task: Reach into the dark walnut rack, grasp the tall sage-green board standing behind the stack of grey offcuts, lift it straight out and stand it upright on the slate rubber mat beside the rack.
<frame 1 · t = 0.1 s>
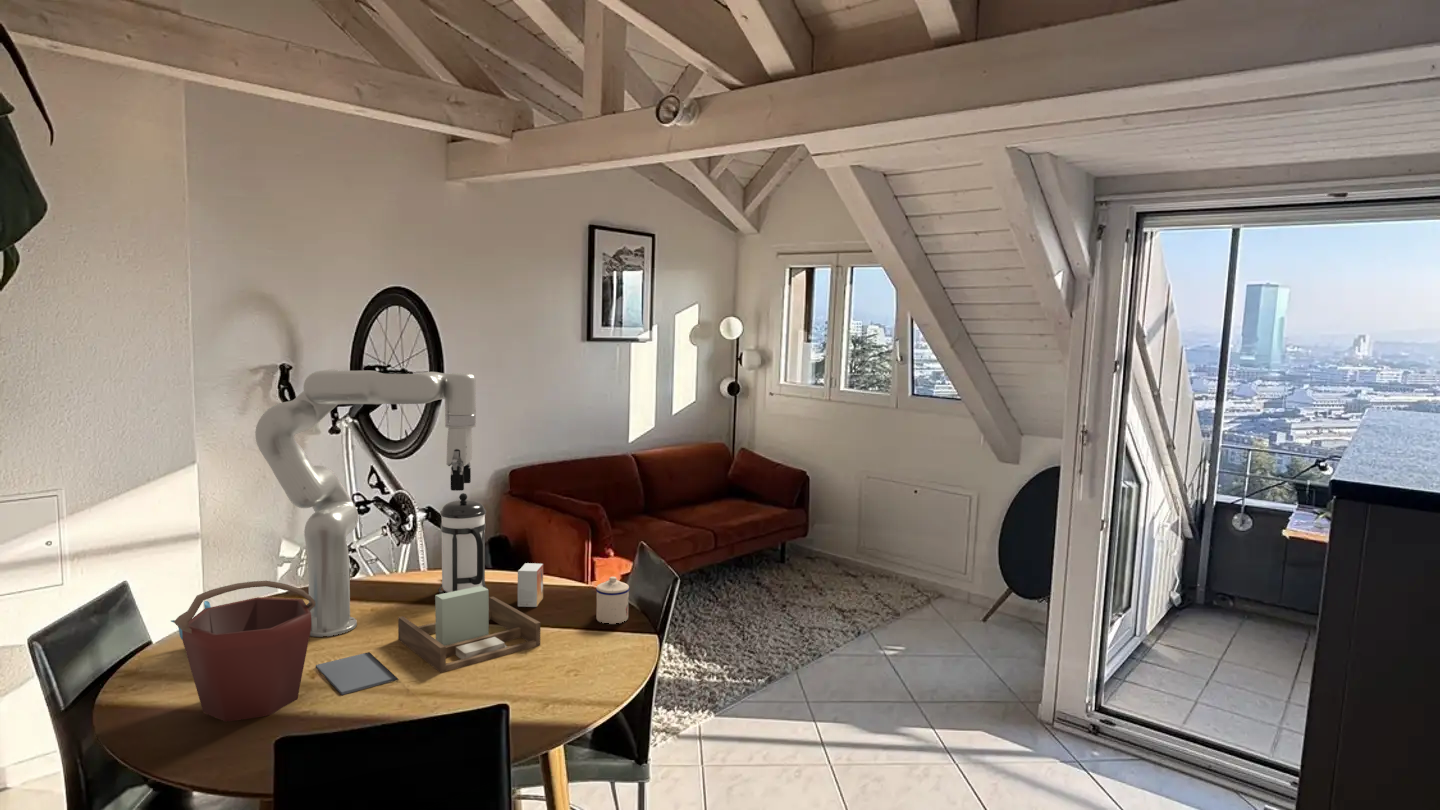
hand: (460, 486, 208), 37 cm above the table, tool pointing down, fingers open, 9 cm apart
rack: (469, 647, 197), on the table
offcut lower: (484, 660, 191), on the table, touching offcut upper
teapot: (216, 651, 192), on the table
mat: (370, 669, 183), on the table
coffee press: (466, 594, 236), on the table
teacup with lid: (610, 618, 220), on the table
small box: (530, 603, 231), on the table
sheet: (462, 643, 200), on the table
bucket: (251, 701, 167), on the table
offcut upper: (480, 653, 191), point 1 cm above the table, touching offcut lower
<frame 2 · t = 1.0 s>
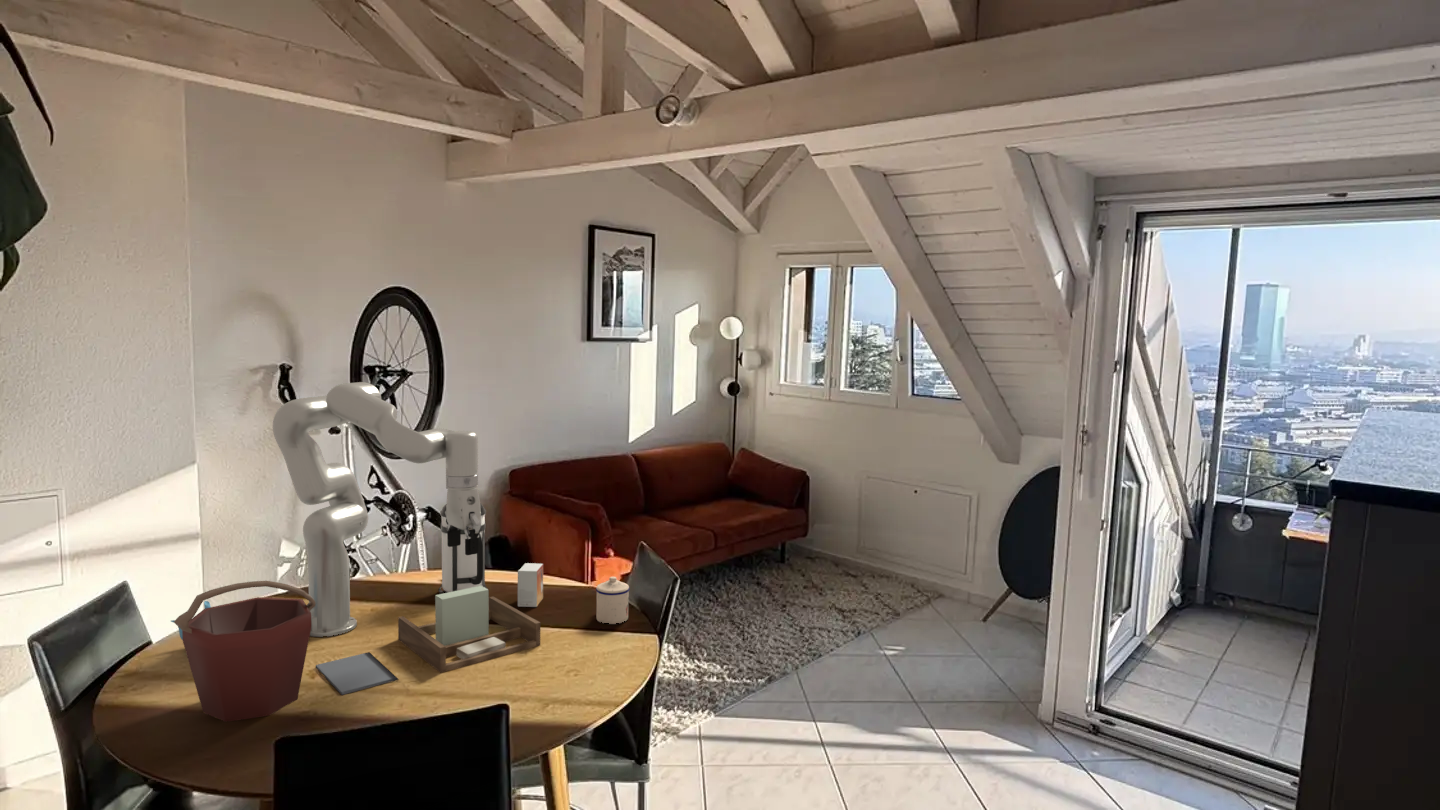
hand: (462, 549, 198), 24 cm above the table, tool pointing down, fingers open, 9 cm apart
nothing on the table moved.
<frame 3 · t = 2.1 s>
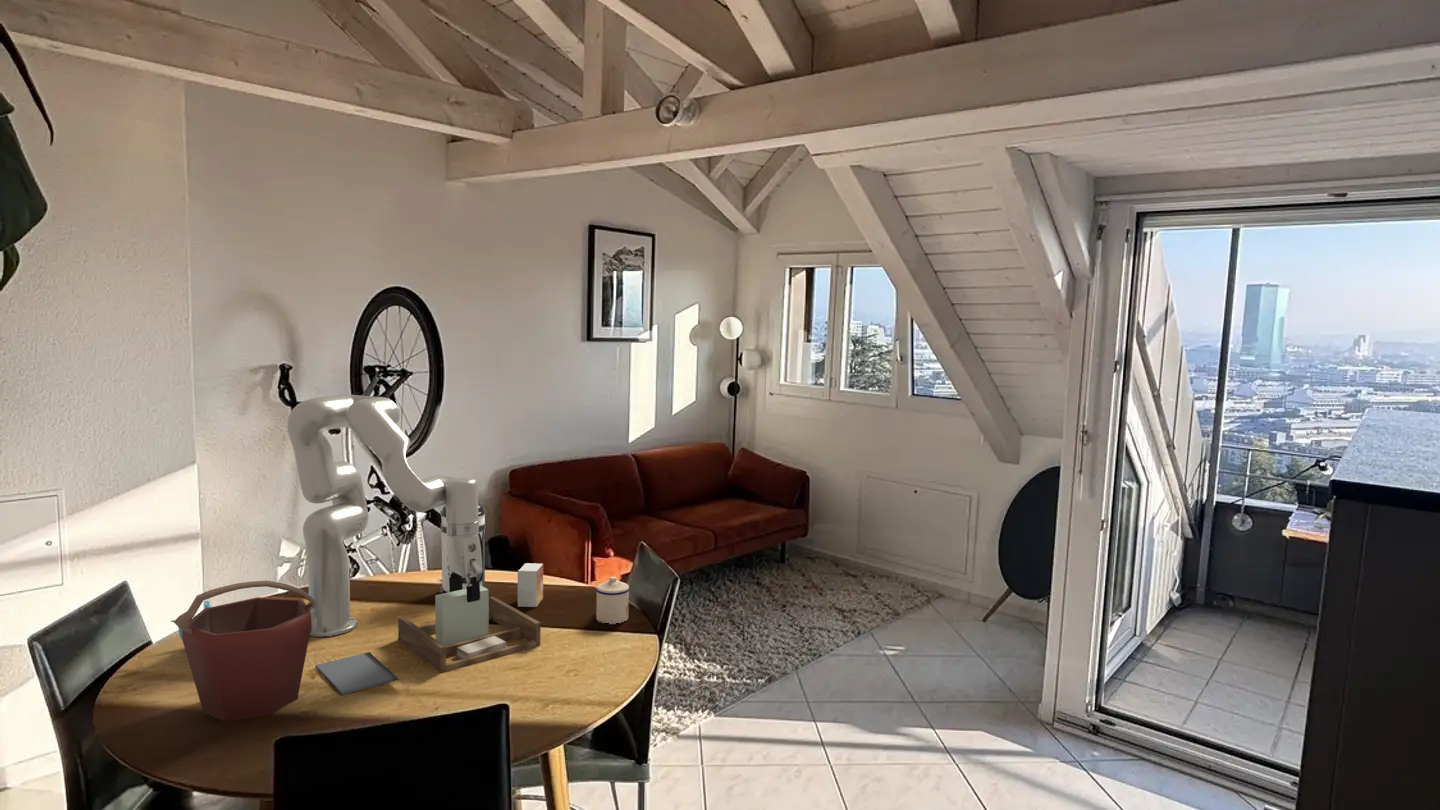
hand: (464, 596, 199), 12 cm above the table, tool pointing down, fingers open, 9 cm apart
nothing on the table moved.
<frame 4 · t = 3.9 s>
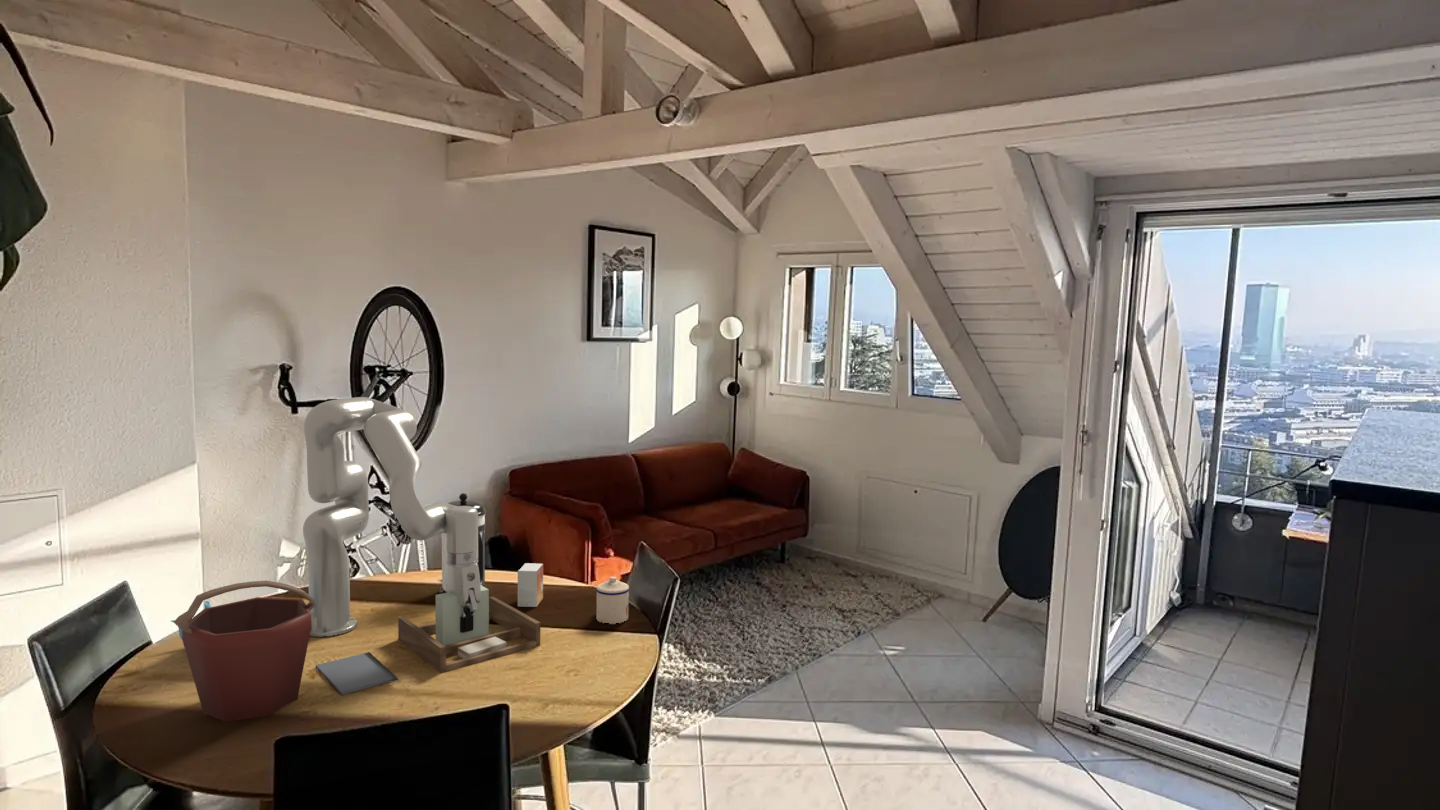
hand: (462, 627, 200), 4 cm above the table, tool pointing down, fingers closed on sheet, 4 cm apart
sheet: (462, 642, 200), on the table, touching gripper
everything else where it was.
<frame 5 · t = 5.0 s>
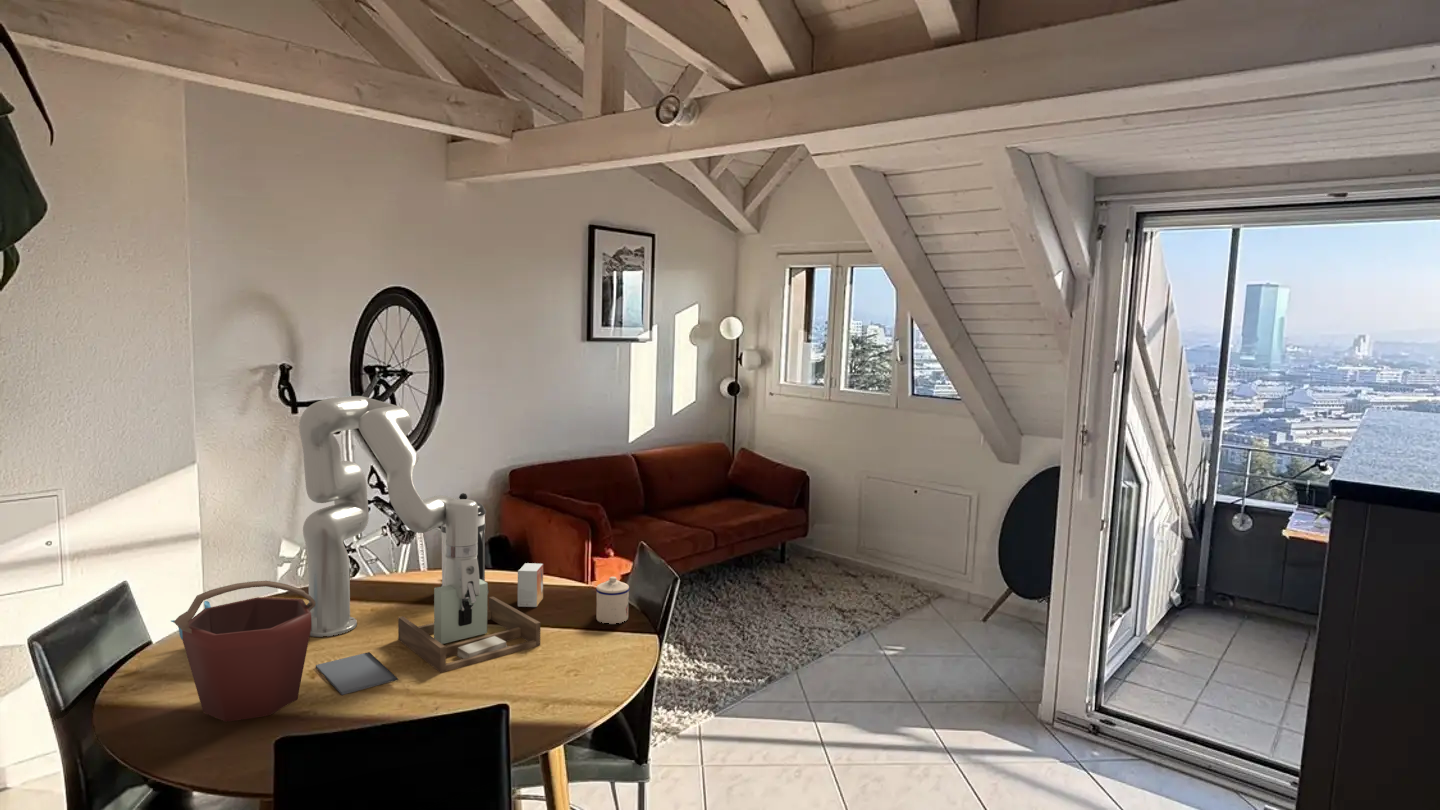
hand: (460, 621, 199), 6 cm above the table, tool pointing down, fingers closed on sheet, 4 cm apart
sheet: (460, 636, 200), point 2 cm above the table, touching gripper
everything else where it was.
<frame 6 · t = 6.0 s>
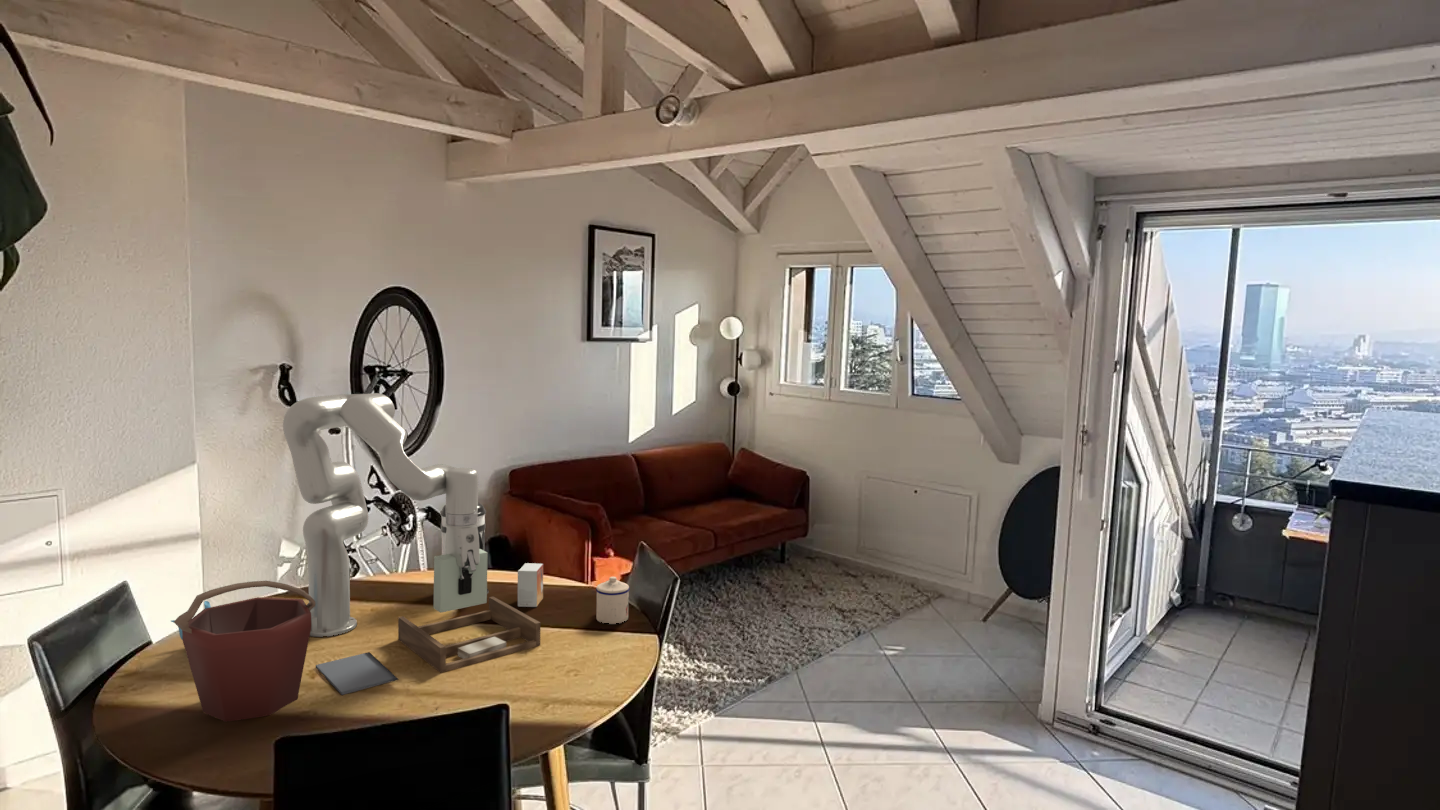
hand: (460, 590, 199), 13 cm above the table, tool pointing down, fingers closed on sheet, 4 cm apart
sheet: (460, 605, 199), point 10 cm above the table, touching gripper
everything else where it was.
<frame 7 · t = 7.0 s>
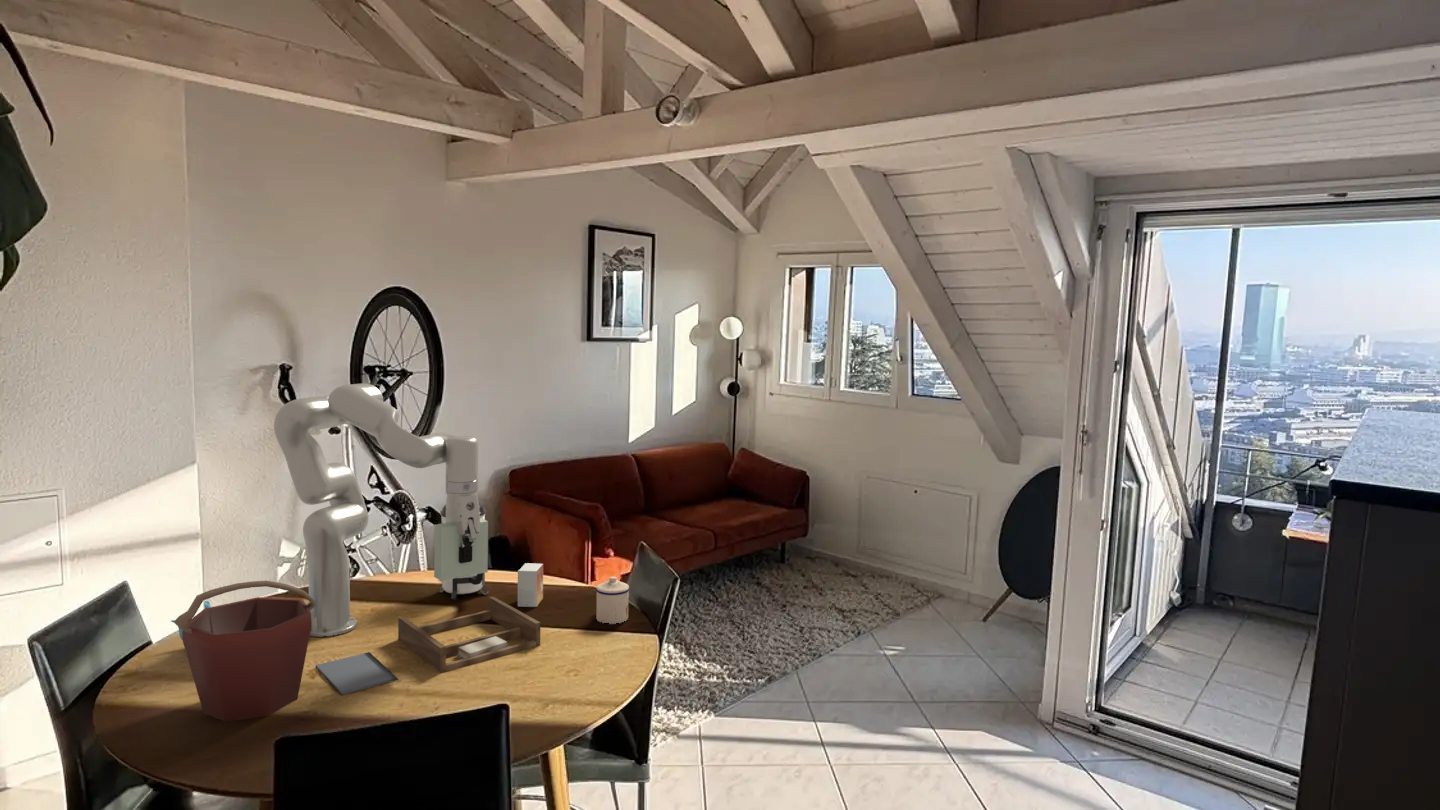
hand: (461, 559, 198), 21 cm above the table, tool pointing down, fingers closed on sheet, 4 cm apart
sheet: (461, 574, 198), point 17 cm above the table, touching gripper
everything else where it was.
when the fingers open (6 cm above the table, at t = 13.2 s): sheet drops 1 cm, resting on mat.
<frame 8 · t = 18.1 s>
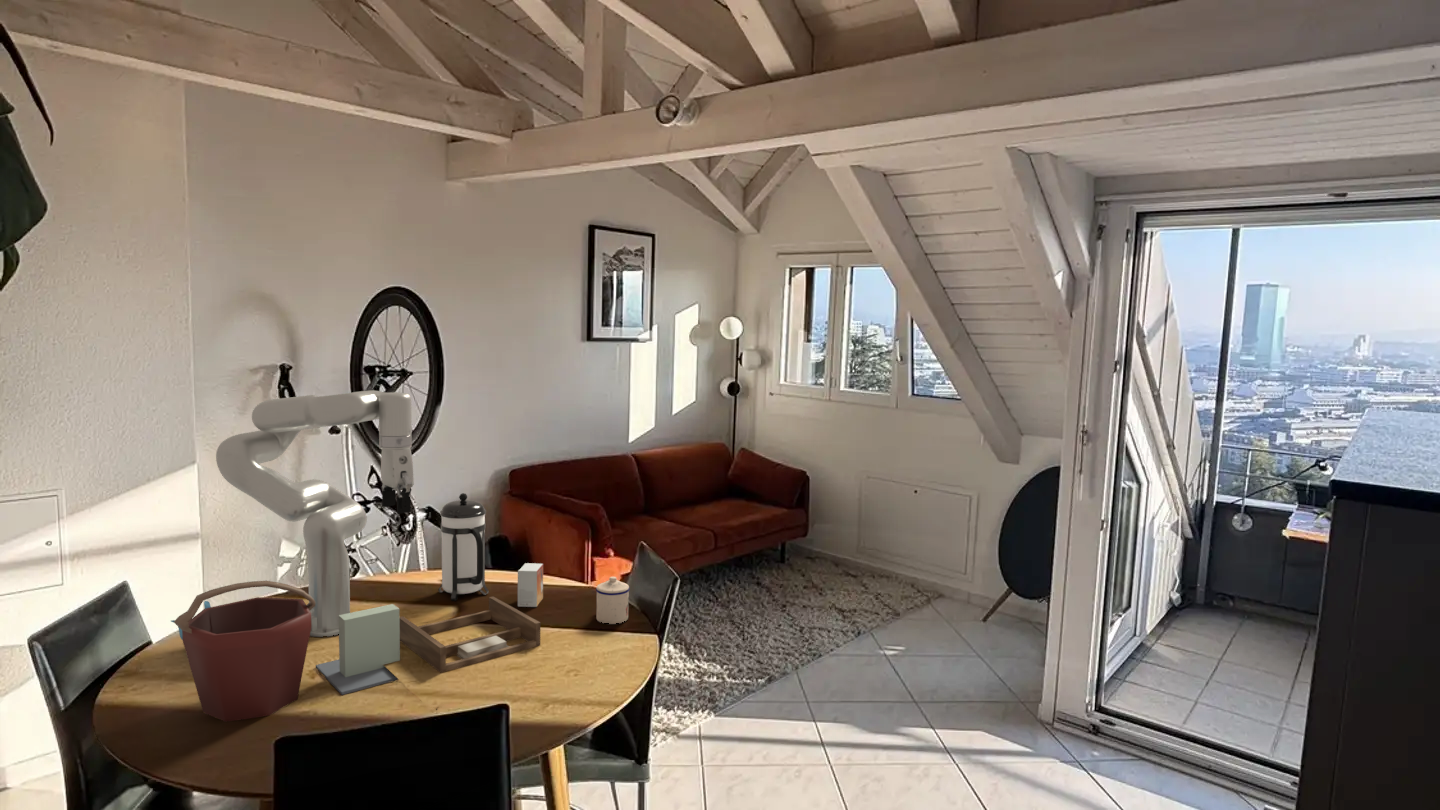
hand: (396, 509, 202), 32 cm above the table, tool pointing down, fingers open, 9 cm apart
sheet: (370, 667, 183), point 1 cm above the table, touching mat
everything else where it was.
at the end: sheet inside the target area on the mat (0.1 cm from its centre), point 0.6 cm above the mat's base; sheet tilted 0°; the gripper is holding nothing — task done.
